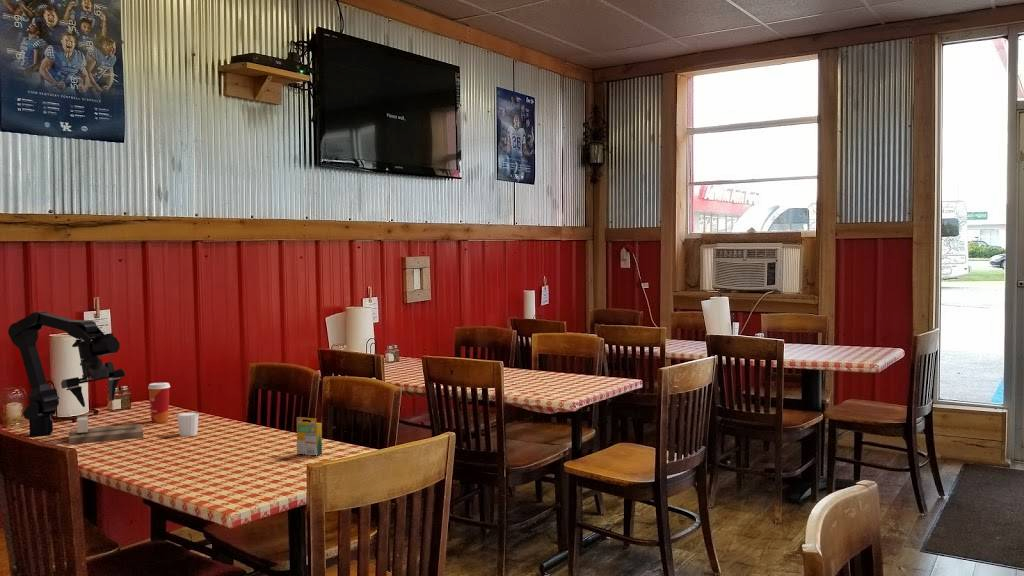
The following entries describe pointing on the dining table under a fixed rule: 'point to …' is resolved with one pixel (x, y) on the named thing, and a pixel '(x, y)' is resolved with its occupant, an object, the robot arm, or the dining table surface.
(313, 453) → the crayon box
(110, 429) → the fader console
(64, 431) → the dining table surface
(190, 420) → the white tapered cup
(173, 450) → the dining table surface
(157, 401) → the paper cup
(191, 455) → the dining table surface
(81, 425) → the fader tab
